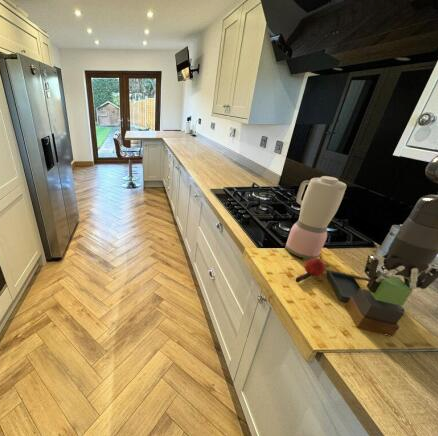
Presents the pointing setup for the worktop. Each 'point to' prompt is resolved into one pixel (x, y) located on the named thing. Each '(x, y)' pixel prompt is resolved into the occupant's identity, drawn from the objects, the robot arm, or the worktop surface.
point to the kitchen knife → (303, 277)
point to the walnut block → (369, 320)
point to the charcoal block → (377, 307)
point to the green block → (392, 291)
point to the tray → (345, 285)
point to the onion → (315, 267)
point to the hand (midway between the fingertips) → (384, 293)
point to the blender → (314, 216)
